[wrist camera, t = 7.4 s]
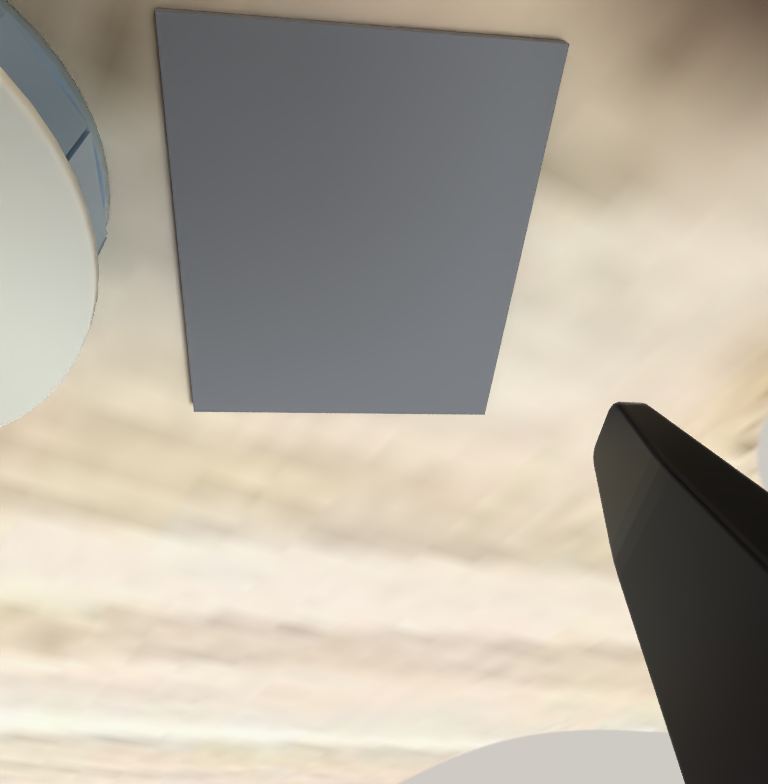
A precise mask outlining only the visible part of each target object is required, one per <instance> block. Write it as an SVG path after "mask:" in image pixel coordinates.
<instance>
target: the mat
mask: <svg viewBox="0 0 768 784" xmlns="http://www.w3.org/2000/svg"><path fill="white" fill-rule="evenodd" d="M155 17H156V28H157V38H158V48H159V58H160V69H161V79H162V89H163V99H164V110H165V120H166V130H167V140H168V151H169V161H170V171H171V181H172V192H173V202H174V212H175V222H176V233H177V243H178V253H179V263H180V274H181V284H182V294H183V304H184V315H185V325H186V335H187V345H188V356H189V366H190V376H191V386H192V397H193V407H194V412H284V413H383V414H481V415H485V410H486V406H487V402H488V397H489V393H490V388H491V384H492V380H493V375H494V371H495V367H496V362H497V358H498V353H499V349H500V345H501V340H502V336H503V331H504V327H505V323H506V318H507V314H508V310H509V305H510V301H511V296H512V292H513V288H514V283H515V279H516V275H517V270H518V266H519V261H520V257H521V253H522V248H523V244H524V240H525V235H526V231H527V226H528V222H529V218H530V213H531V209H532V205H533V200H534V196H535V191H536V187H537V183H538V178H539V174H540V170H541V165H542V161H543V156H544V152H545V148H546V143H547V139H548V134H549V130H550V126H551V121H552V117H553V113H554V108H555V104H556V99H557V95H558V91H559V86H560V82H561V78H562V73H563V69H564V64H565V60H566V56H567V51H568V47H569V44H568V43H567V42H566V41H563V40H550V39H538V38H526V37H513V36H501V35H489V34H476V33H464V32H451V31H439V30H427V29H414V28H402V27H389V26H377V25H365V24H352V23H340V22H328V21H315V20H303V19H290V18H278V17H266V16H253V15H241V14H228V13H216V12H204V11H191V10H179V9H167V8H157V9H156V10H155Z"/></svg>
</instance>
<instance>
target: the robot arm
mask: <svg viewBox="0 0 768 784" xmlns="http://www.w3.org/2000/svg"><path fill="white" fill-rule="evenodd" d="M593 459H594V467H595V472H596V477H597V482H598V487H599V493H600V498H601V503H602V508H603V513H604V518H605V523H606V528H607V533H608V538H609V543H610V548H611V552H612V556H613V561H614V564H615V568H616V571H617V575H618V578H619V581H620V584H621V587H622V590H623V593H624V597H625V600H626V603H627V606H628V609H629V612H630V615H631V618H632V621H633V624H634V627H635V631H636V634H637V637H638V640H639V643H640V646H641V649H642V652H643V655H644V658H645V661H646V665H647V668H648V671H649V674H650V677H651V680H652V683H653V686H654V689H655V692H656V695H657V698H658V702H659V705H660V708H661V711H662V714H663V717H664V720H665V723H666V726H667V729H668V732H669V736H670V739H671V742H672V745H673V748H674V751H675V754H676V757H677V760H678V763H679V766H680V770H681V773H682V776H683V779H684V782H685V784H768V492H767V491H766V490H764V489H763V488H762V487H760V486H759V485H758V484H756V483H755V482H753V481H752V480H751V479H749V478H748V477H746V476H745V475H744V474H742V473H741V472H740V471H738V470H737V469H735V468H734V467H733V466H731V465H730V464H729V463H727V462H726V461H724V460H723V459H722V458H720V457H719V456H717V455H716V454H715V453H713V452H712V451H711V450H709V449H708V448H706V447H705V446H704V445H702V444H701V443H700V442H698V441H697V440H695V439H694V438H693V437H691V436H690V435H689V434H687V433H686V432H684V431H683V430H682V429H680V428H679V427H677V426H676V425H675V424H673V423H672V422H671V421H669V420H668V419H666V418H665V417H664V416H662V415H661V414H660V413H658V412H657V411H655V410H654V409H653V408H651V407H650V406H648V405H647V404H644V403H635V402H617V403H615V404H613V405H612V406H611V408H610V410H609V411H608V414H607V417H606V419H605V422H604V424H603V427H602V429H601V432H600V435H599V437H598V440H597V442H596V445H595V448H594V456H593Z"/></svg>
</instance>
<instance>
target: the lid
mask: <svg viewBox="0 0 768 784" xmlns="http://www.w3.org/2000/svg"><path fill="white" fill-rule="evenodd" d="M98 278H99V266H98V256H97V245H96V238H95V234H94V230H93V226H92V222H91V218H90V214H89V210H88V207H87V204H86V201H85V199H84V196H83V194H82V191H81V189H80V186H79V183H78V181H77V178H76V176H75V173H74V172H73V170H72V168H71V166H70V164H69V162H68V160H67V159H66V157H65V155H64V153H63V151H62V149H61V147H60V145H59V144H58V142H57V140H56V138H55V137H54V135H53V134H52V132H51V131H50V129H49V128H48V127H47V125H46V124H45V122H44V121H43V119H42V118H41V116H40V115H39V113H38V112H37V111H36V109H35V108H34V106H33V105H32V103H31V102H30V101H29V100H28V99H27V97H26V96H25V95H24V94H23V93H22V91H21V90H20V89H19V88H18V87H17V86H16V84H15V83H14V82H13V81H12V80H11V79H10V77H9V76H8V75H7V74H6V73H5V71H4V70H3V69H2V68H1V67H0V428H1V427H3V426H5V425H7V424H9V423H11V422H12V421H14V420H16V419H18V418H20V417H21V416H23V415H25V414H27V413H28V412H29V411H30V410H32V409H33V408H34V407H36V406H37V405H38V404H40V403H41V402H42V401H43V400H45V399H46V398H47V397H48V396H49V395H50V394H51V393H52V391H53V390H54V389H55V388H56V387H57V386H58V385H59V384H60V383H61V382H62V381H63V379H64V378H65V376H66V375H67V373H68V371H69V370H70V368H71V367H72V365H73V364H74V362H75V361H76V359H77V356H78V354H79V352H80V349H81V347H82V345H83V342H84V340H85V338H86V335H87V333H88V331H89V328H90V326H91V324H92V319H93V315H94V310H95V306H96V302H97V295H98Z"/></svg>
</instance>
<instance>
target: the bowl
mask: <svg viewBox="0 0 768 784" xmlns="http://www.w3.org/2000/svg"><path fill="white" fill-rule="evenodd" d="M0 67H1V68H2V69H3V70H4V71H5V73H6V74H7V75H8V76H9V77H10V79H11V80H12V81H13V82H14V83H15V84H16V86H17V87H18V88H19V89H20V90H21V91H22V93H23V94H24V95H25V96H26V97H27V99H28V100H29V101H30V102H31V103H32V105H33V106H34V108H35V109H36V111H37V112H38V113H39V115H40V116H41V118H42V119H43V121H44V122H45V124H46V125H47V127H48V128H49V129H50V131H51V132H52V134H53V135H54V137H55V138H56V140H57V142H58V144H59V145H60V147H61V149H62V151H63V153H64V155H65V157H66V159H67V160H68V162H69V164H70V166H71V168H72V170H73V172H74V173H75V176H76V178H77V181H78V183H79V186H80V189H81V191H82V194H83V196H84V199H85V201H86V204H87V207H88V210H89V214H90V218H91V222H92V226H93V230H94V234H95V238H96V245H97V256H98V255H99V253H100V251H101V249H102V247H103V245H104V242H105V240H106V235H107V223H108V218H109V203H110V189H109V177H108V168H107V164H106V159H105V155H104V150H103V146H102V142H101V139H100V137H99V134H98V131H97V128H96V125H95V123H94V120H93V117H92V115H91V113H90V111H89V109H88V107H87V105H86V103H85V101H84V99H83V97H82V95H81V93H80V91H79V89H78V87H77V86H76V84H75V83H74V81H73V79H72V78H71V76H70V75H69V73H68V72H67V70H66V68H65V67H64V65H63V64H62V62H61V61H60V60H59V58H58V57H57V56H56V55H55V53H54V52H53V51H52V50H51V48H50V47H49V46H48V44H47V43H46V42H45V41H44V39H43V38H42V37H41V36H40V34H39V33H38V32H37V31H36V30H35V29H34V28H33V27H32V26H31V25H30V24H29V23H28V22H27V21H26V20H25V19H24V18H23V17H22V16H21V15H20V14H19V13H18V12H17V11H16V10H15V9H14V8H13V7H12V6H11V5H10V4H8V3H7V2H6V1H5V0H0Z"/></svg>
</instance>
